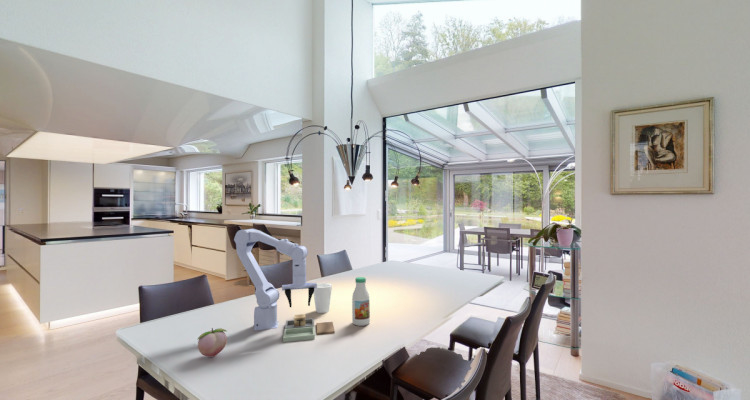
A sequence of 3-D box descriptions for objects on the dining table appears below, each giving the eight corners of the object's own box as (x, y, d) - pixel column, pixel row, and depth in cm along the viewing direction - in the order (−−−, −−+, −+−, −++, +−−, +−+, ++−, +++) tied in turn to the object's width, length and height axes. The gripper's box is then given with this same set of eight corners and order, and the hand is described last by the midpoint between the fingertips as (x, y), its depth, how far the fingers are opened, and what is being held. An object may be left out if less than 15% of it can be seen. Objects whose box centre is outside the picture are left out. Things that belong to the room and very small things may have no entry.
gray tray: (284, 333, 131) (284, 328, 131) (286, 325, 140) (286, 320, 140) (314, 330, 133) (314, 325, 133) (313, 322, 142) (313, 318, 142)
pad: (317, 335, 128) (317, 332, 128) (316, 325, 138) (316, 323, 138) (334, 334, 129) (334, 331, 129) (332, 324, 140) (332, 321, 140)
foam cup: (334, 308, 161) (333, 283, 162) (329, 315, 152) (329, 287, 152) (315, 308, 162) (315, 283, 163) (310, 314, 153) (310, 287, 153)
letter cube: (294, 329, 134) (294, 318, 134) (294, 325, 138) (294, 314, 138) (305, 328, 135) (305, 317, 135) (305, 324, 139) (305, 314, 139)
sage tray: (283, 343, 121) (283, 337, 121) (284, 334, 130) (284, 329, 130) (314, 340, 124) (314, 334, 124) (314, 331, 132) (314, 326, 132)
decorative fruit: (220, 348, 117) (220, 321, 117) (230, 355, 112) (230, 326, 112) (192, 358, 110) (192, 329, 110) (202, 365, 105) (202, 334, 105)
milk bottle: (349, 324, 139) (348, 278, 140) (358, 319, 146) (357, 275, 147) (364, 327, 136) (363, 280, 136) (372, 321, 143) (372, 276, 143)
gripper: (281, 277, 132) (281, 310, 131) (316, 275, 135) (317, 307, 134) (282, 273, 139) (282, 305, 138) (316, 271, 142) (316, 302, 141)
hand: (299, 305), depth 137 cm, fingers open, 7 cm apart
